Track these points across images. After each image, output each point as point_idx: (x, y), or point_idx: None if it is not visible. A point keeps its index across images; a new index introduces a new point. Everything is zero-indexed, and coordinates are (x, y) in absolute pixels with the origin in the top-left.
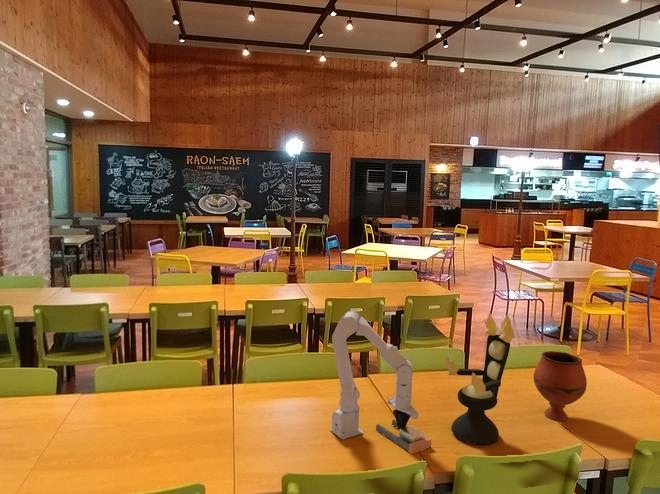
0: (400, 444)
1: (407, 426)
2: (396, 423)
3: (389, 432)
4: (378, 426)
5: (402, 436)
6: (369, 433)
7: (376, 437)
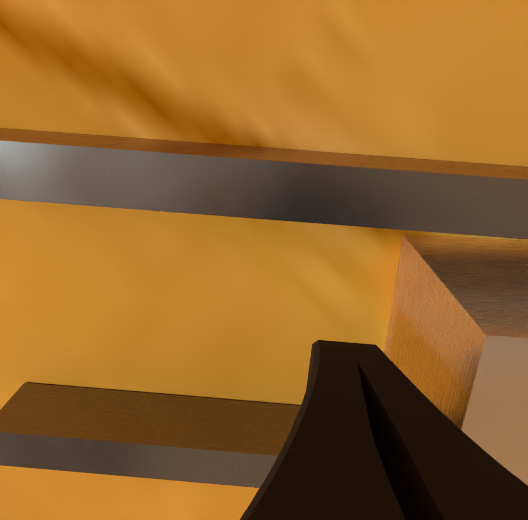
0: None
1: (480, 416)
2: (51, 198)
3: (241, 471)
4: (38, 466)
5: None
6: (69, 497)
7: (170, 498)
